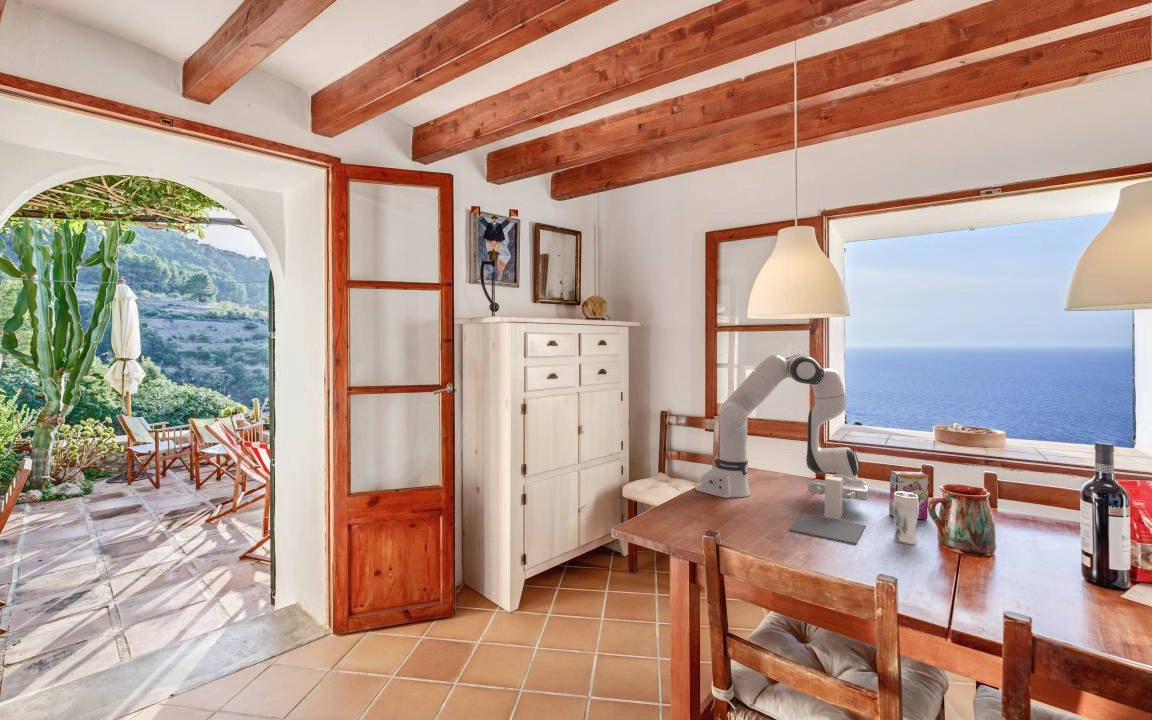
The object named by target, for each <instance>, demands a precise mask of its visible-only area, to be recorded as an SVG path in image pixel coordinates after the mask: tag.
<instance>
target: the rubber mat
mask: <svg viewBox="0 0 1152 720" xmlns="http://www.w3.org/2000/svg"><path fill="white" fill-rule="evenodd" d="M865 529H866V524H862V523H858V522H851V521H847V520H841V519H840V520H838V519H833V518H828V517H824V516H818V515H814V514H809V513H802V515H801V516H800V517H798V519H797V520H796V521H795V522H794V524H793V525H792V526H791V527H790V528H788V531H789V532H792V533H793V532H794V533H798V534H802V535H806V534H808V535H807V536H811V535H813V536H812V537H816V536H818V537H817V538H821V537H822V538H821V539H825V538H826V540H830V539H831V540H832V541H835V540H836V541H835V542H840V541H841V542H840V543H844V542H846V544H849V543H850V545H854V544H855V545H854V546H856V545H857V544H858V542H859V540H860V539H861V536H862V535H863V533H862V532H864V531H863V530H865Z"/></svg>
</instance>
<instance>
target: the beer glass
mask: <svg viewBox="0 0 1152 720" xmlns="http://www.w3.org/2000/svg"><path fill="white" fill-rule="evenodd" d="M893 514H894V518H893V519H894V520H893V521H894V525H895V527H894V528H895V530H894V531H895V532H894V535H893V540H894V541H895V542H896V543H900V544H903V545H908V546H909V545H910V546H911V545H912V546H913V545H916V544H917V539H916V527H917V523H918V520H917V519H918V514H919V502H918V496H917V495H916V494H912V493H908V492H895V493H894V499H893Z"/></svg>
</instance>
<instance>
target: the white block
mask: <svg viewBox="0 0 1152 720" xmlns="http://www.w3.org/2000/svg"><path fill="white" fill-rule="evenodd" d="M832 476H833V475H828V476H826V477H825V479H824V481H825V494H824V516H823V517H825V518H831V519H833V518H834V519H836V520H838V519H839V520H841V519H840V518H842V517H843V502H844V501H843V499H844V498H843V478H839V477H832Z"/></svg>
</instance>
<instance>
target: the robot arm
mask: <svg viewBox="0 0 1152 720" xmlns="http://www.w3.org/2000/svg"><path fill="white" fill-rule="evenodd" d="M787 378H790V379H792V380H794V381H795V382H797V383H800V384H804V385H811V387H812V390H813V395H814V406H813V408H812V409H811V410H809V413H808V415H807V447H806V448H807V449H806V458H805V459H806V462H805V463H806V466H807V468H808V469H809V470H810V471H811V472H813V473H814V474H826V473H835V474H833V475H831V476H832V477H839V478H843V499H847V500H852V499H853V500H859V501H868V500H869V493H868V492H869V489H868V488H869V487H868V485H867V482H866V481H864V480H861V479H859V478H858V473H859V471H860V461H859V458H858V456H857V454H856V452H854V450H853V449H852V448H850V447H847V446H845V447H844V446H843V447H842V446H841V447H826V448H825V447H820V428H821V426H822V425H823V424H824V423H826V422H827V423H828V422H829V421H832V420H834V419H835V418H837V417H839V416H841V415H842V414H843V413H844V412H845V410H846V407H847V405H846V404H847V401H846V400H847V398H846V393H845V389H844V385H843V382H842V378H841V376H840V374H839V372H838V371H837V370H836V369H834V368H830V367H829V368H828V367H825V368H823V367H822V366H821V365H820V363H819V362H818V361H817V360H815V358H813V357H812V356H809V355H807V354H795V355H792V356H789V357H786V358H785V357H783V356H781V355H780V354H779V355H778V354H770V355H769V356H768V357H767V358H765V359H764V360H762V361H761V362H760V363H759V364H758V365H757V366H756V367H755V368H754V370H752V372H751V373H750V374H749V375H748V376H747V378H746V379H744V381H743V382H742V383H741V384H740V385H739V386H738V387H737V388H736V389H735V390H734V392H732V394H730V395H729V397H728V398H727V399H726V400H725V401H724V402H723V404H722V405H721V406H720V411H719V454H718V455H719V456H718V457H717V458H716V459H714V461H713V464H714V466H713V467H711V468H710V469H709V470H708V471H706V472H705V473H704V474H702V476H701V480H700V482H699V483H698V484H696V485H695V489H694V490H695V491H697V492H701V493H704V494H709V495H713V496H716V497H721V498H724V499H726V498H742V497H743V498H744V497H748V496H750V495H751V490H750V487H749V481H748V472H749V464H748V462H749V460H748V459H747V458H748V457H747V456H748V423H749V422H748V421H749V419H748V416H750V415H751V414H752V413H753V411H754V410H756V409H757V407H759V406H760V405H761V404H762V403H763V402H764V401H765V400H766V399H767V398H768V397H769V395H771V394H772V392H774V390H775V389H777V387H778V386H779V384H780V383H781V382H783V380H785V379H787ZM807 490H808V492H809V493H815V494H817V495H825V479H824V480H823V479H811V480H809V481H808V483H807Z"/></svg>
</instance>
